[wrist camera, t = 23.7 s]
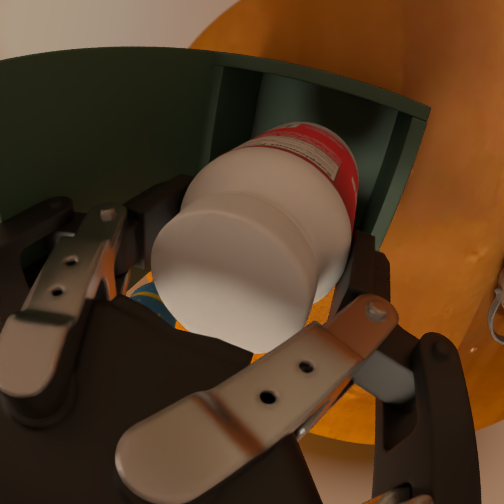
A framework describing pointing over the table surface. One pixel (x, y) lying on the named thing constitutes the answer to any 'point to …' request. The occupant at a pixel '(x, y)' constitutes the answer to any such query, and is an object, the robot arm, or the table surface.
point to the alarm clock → (502, 296)
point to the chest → (322, 113)
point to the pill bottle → (260, 237)
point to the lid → (98, 126)
